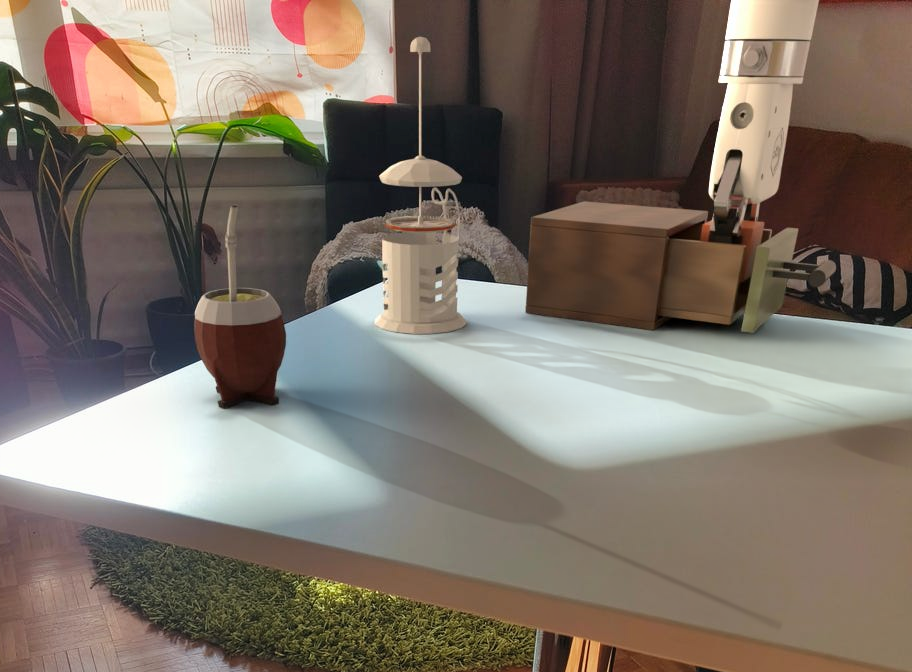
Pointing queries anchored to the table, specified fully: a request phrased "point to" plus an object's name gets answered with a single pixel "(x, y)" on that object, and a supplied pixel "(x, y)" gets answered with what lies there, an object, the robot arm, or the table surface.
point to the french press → (420, 249)
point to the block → (743, 243)
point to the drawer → (731, 278)
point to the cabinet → (602, 262)
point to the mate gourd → (240, 336)
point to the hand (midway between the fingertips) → (726, 271)
